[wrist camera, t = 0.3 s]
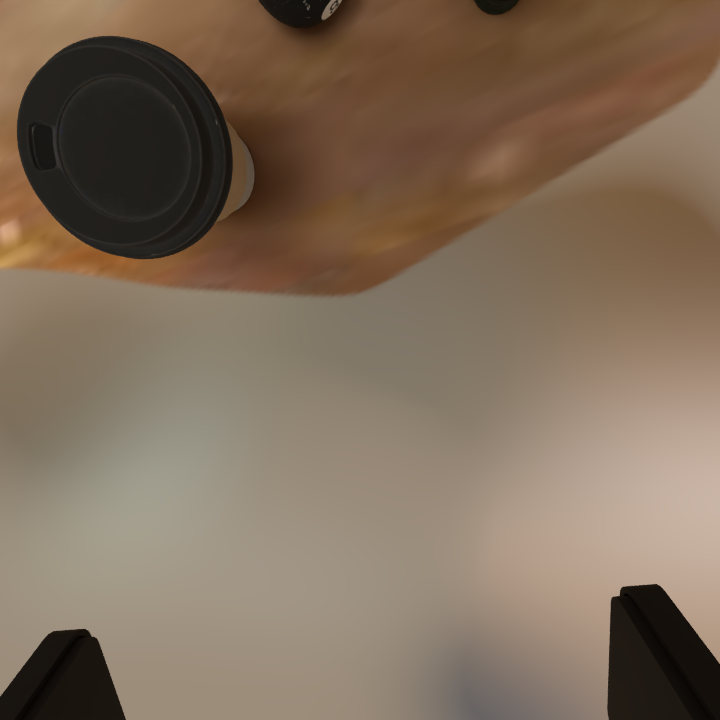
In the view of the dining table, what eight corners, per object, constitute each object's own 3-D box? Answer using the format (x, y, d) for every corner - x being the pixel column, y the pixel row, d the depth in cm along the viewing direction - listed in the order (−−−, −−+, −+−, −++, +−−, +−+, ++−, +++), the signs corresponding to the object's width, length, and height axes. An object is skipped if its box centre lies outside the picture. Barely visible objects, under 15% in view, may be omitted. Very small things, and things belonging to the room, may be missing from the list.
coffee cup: (124, 136, 35) (-50, 89, 21) (242, 73, 34) (144, -25, 19) (192, 261, 37) (79, 296, 23) (304, 207, 36) (259, 208, 22)
